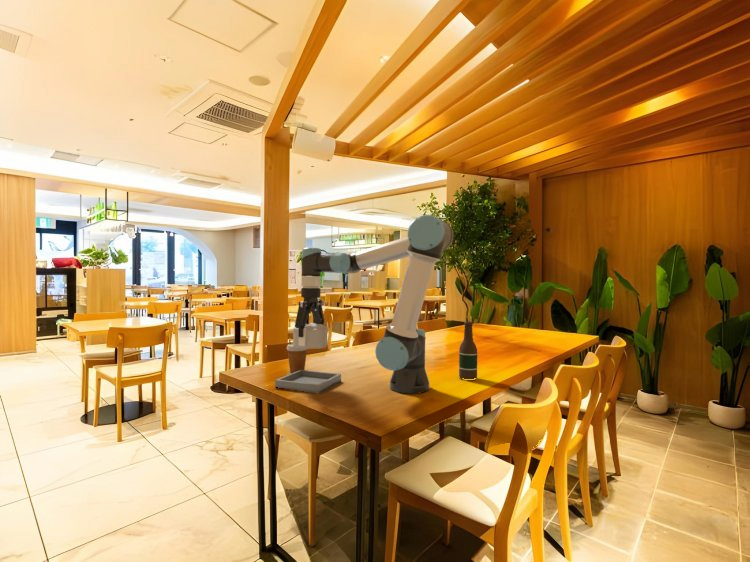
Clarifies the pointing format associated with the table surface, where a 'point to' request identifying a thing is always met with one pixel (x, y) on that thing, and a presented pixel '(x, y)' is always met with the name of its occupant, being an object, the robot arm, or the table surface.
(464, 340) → the beer bottle
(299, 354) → the disposable coffee cup
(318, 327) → the lumpy-topped squat cylinder
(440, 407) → the table surface
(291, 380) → the charcoal tray
